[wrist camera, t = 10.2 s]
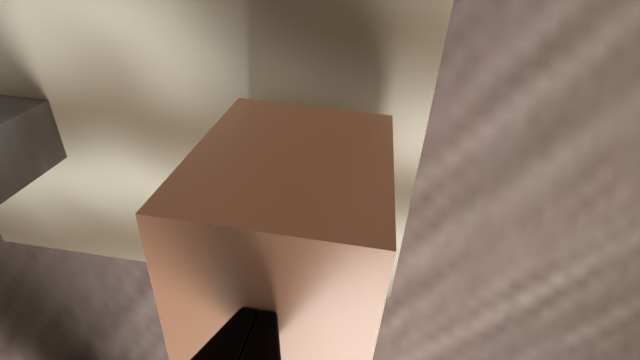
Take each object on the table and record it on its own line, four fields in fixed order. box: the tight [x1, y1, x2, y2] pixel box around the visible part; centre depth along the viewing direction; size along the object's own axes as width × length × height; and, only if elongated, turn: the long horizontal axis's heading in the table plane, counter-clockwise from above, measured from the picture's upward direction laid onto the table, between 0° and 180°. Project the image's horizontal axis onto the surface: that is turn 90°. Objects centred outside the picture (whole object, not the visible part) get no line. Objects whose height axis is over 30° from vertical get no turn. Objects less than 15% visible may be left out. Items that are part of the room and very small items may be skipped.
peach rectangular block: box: [135, 98, 397, 360], centre depth 12 cm, size 5×5×7 cm
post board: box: [0, 0, 454, 298], centre depth 14 cm, size 14×20×8 cm
